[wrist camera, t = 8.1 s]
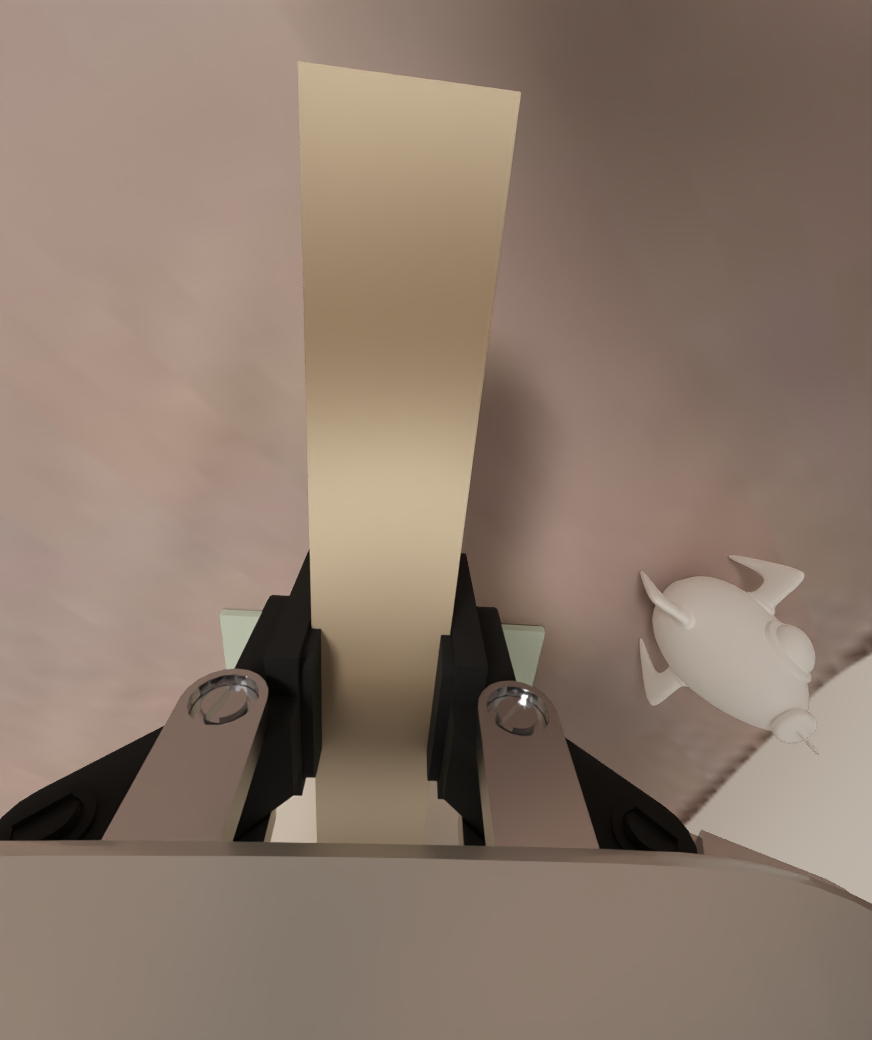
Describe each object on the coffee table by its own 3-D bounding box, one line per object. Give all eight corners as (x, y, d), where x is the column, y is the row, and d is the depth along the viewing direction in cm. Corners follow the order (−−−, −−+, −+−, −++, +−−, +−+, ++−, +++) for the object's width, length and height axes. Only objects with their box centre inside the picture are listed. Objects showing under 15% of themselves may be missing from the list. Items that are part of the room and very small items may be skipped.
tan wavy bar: (346, 159, 9) (297, 61, 5) (476, 174, 9) (521, 92, 5) (340, 801, 16) (319, 946, 13) (410, 802, 16) (409, 946, 13)
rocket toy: (747, 531, 20) (938, 666, 13) (735, 633, 22) (890, 796, 15) (618, 554, 20) (733, 700, 13) (619, 653, 22) (717, 823, 15)
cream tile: (293, 662, 21) (207, 963, 13) (472, 671, 22) (505, 963, 13) (295, 688, 22) (217, 983, 13) (467, 695, 22) (495, 982, 14)
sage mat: (223, 609, 20) (219, 614, 20) (543, 626, 21) (545, 632, 21) (248, 827, 27) (246, 834, 26) (493, 832, 28) (494, 839, 27)
